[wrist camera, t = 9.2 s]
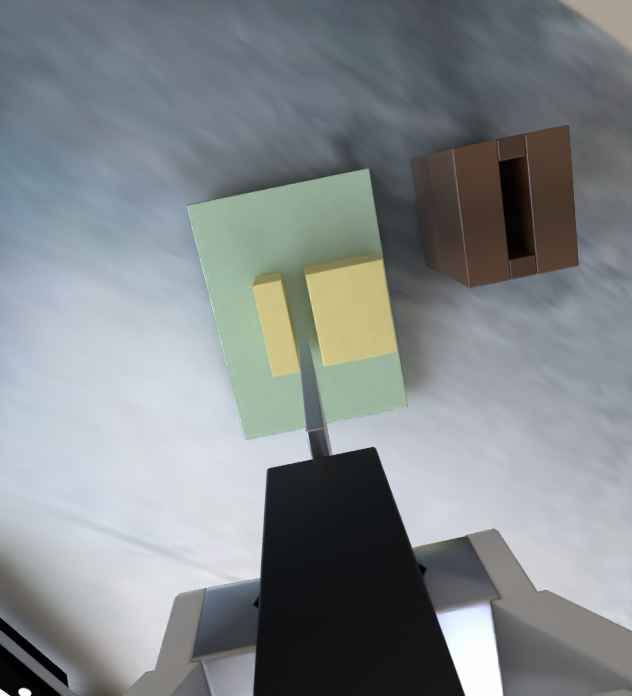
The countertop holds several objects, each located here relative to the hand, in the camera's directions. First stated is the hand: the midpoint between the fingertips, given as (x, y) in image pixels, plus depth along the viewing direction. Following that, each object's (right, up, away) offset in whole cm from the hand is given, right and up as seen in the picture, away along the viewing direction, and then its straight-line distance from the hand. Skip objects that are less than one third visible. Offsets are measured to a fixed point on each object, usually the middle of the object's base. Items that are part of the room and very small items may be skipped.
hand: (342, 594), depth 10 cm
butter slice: (-3, +6, +23) cm, 24 cm away
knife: (-1, +3, +11) cm, 11 cm away
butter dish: (-1, +6, +24) cm, 25 cm away
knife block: (+8, +12, +23) cm, 27 cm away
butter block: (+1, +7, +23) cm, 24 cm away
